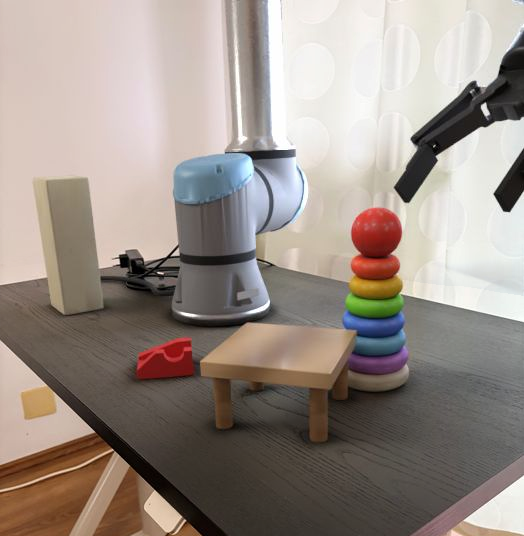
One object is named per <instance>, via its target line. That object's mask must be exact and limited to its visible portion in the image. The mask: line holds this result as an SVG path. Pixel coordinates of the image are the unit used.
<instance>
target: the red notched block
mask: <svg viewBox="0 0 524 536" xmlns="http://www.w3.org/2000/svg"><path fill="white" fill-rule="evenodd" d="M137 356H138V357H137V359H138V362H137V368H136V376H137V380H149V379H160V378H172V377H185V376H194V374H195V372H194V370H195V369H194V359H193V346H192V337H191V336H189V337H178V338H175V339H172V340H170V341H167V342H165V343H162V344H160V345H157V346H154V347H152V348H149V349H147V350H144V351H141V352H139V353H138V355H137Z"/></svg>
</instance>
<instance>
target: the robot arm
mask: <svg viewBox="0 0 524 536" xmlns="http://www.w3.org/2000/svg"><path fill="white" fill-rule="evenodd" d="M510 1H511V2H514V3H517V4H520V5H523V6H524V0H510ZM223 2H224V14H225V15H224V16H225V31H226V32H225V33H226V48H227V64H228V80H229V81H228V82H229V93H230V94H229V96H230V99H229V100H230V112H231V113H230V114H231V127H232V128H231V129H232V130H231V131H232V139H231V141H230V142H229V144H228V145H227V146H226V147H225V149H224V153H216V154H210V155H203V156H197V157H193V158H189V159H186V160H184V161H181V162H179V164H176V167H175V168H174V170H173V175H172V176H173V178H172V179H173V189H172V196H173V197H172V198H173V201H174V211H175V222H176V233H177V242H178V245H177V246H178V253H179V254H178V255H179V271H178V274H177V279H176V284H175V289H173V290H159V289H157V288H156V286H155V285H154V283H152V282H150V281H149V280H148V281H147V280H145V279H141V278H138V277H137V278H136V277H131V278H129V276H122V275H121V276H120V275H100V280H101V282H108V281H109V282H125V283H133V284H138V285H142V286H144V287H147V288H149V289H150V291H151V292H152V293H153V295H156V296H158V297H172V301H171V311H172V312H171V313H172V317H173V318H174V320H175V321H178V322H181V323H184V324H187V325H192V326H200V327H201V326H202V327H203V326H204V327H222V326H223V327H224V326H231V325H232V326H234V325H238V324H241V325H242V324H246V323H251V322H253V321H257V320H259V319H261V318H264V317H265V316H266V315H268V314H269V313H270V311H271V307H270V305H271V303H270V296H269V293H268V290H267V287H266V285H265V283H264V279H263V277H262V274H261V270H260V269H259V266H258V262H257V246H256V245H257V244H256V236H258V235H261V234H266V233H268V232H269V233H270V232H271V233H272V232H276V231H279V230H282V229H284V228H285V227H287V226H288V225H290V224H292V223H294V222H295V221H296V220H297V219H298V218H299V216H300V215H301V214H302V212H303V210H304V209H305V206H306V204H307V200H308V196H309V186H308V180H307V177H306V175H305V172H304V171H303V170H302V169H301V167H300V166H299V165H298V164H297V150H296V149H297V148H296V145H295V144H294V143H293V142H292V141H291V140H290V139H289V137H288V136H287V129H286V127H287V126H286V99H285V71H284V69H285V68H284V42H283V41H284V39H283V13H282V12H283V11H282V9H283V8H282V0H224V1H223ZM483 105H485V106H486V110H487V112H488V113H489V114H488V115H485V113H484V111H483V109H482V106H483ZM523 118H524V25H522V27H521V29H520V30H519V33H518V34H517V36H515V38H514V39H513V41H512V43H511V44H510V45H509V47H508V48H507V49H506V52H505V53H504V54H503V55H502V58H501V59H500V63H499V68H498V72H497V76H496V77H495V78H494V79H493V80H492V81H491V82H490V83H489V84H488V85H479V83H478V81H477V80H475V79H474V80H472V81H470V82H468V84H467V85H466V86H465V88H464V89H463V90H462V91H461V92H460V93H459V95H457V97H455V98H454V99H453V100H452V101H451V102H450V103H448V104H447V105H446V106H445V107H444V108H442V110H440V111H439V112H438V113H437V114H435V116H433V117H432V118H431V119H430V120H429V121H427V122H426V123H425V124H424V125H423V126H421V128H419V129H418V130H417V131H416V132H415V133H414V134H413V135H412V136H411V137H410V140H409V141H411V143H412V145H413V147H414V148H415V149H416V151H415V152H414V154H413V155H412V157H411V159H410V160H409V161H408V162H407V163H406V166H405V170H404V171H403V173H402V174H401V175H400V177H399V179H398V180H397V181H396V183H395V184H394V186H393V189H394V190H395V192H396V193H397V195H398V196H399V198H400V199H401V200H402V202H403V203H404V204H410V203H411V201H412V200H413V198H414V196H415V195H416V194H417V193H418V191H419V189H420V188H421V187H422V185H423V184H424V182H425V181H426V179H427V178H428V177H429V175H430V174H431V172H432V170H433V169H434V167H435V166H436V164H438V161H439V159H438V158H437V156H439V155H440V154H441V153H443V152H444V151H446V150H448V149H450V148H451V147H452V146H454V145H456V144H457V143H458V142H460V141H462V140H463V139H465V138H466V137H468V136H469V135H471V134H472V133H474V132H475V131H477V130H479V129H480V128H489V126H492V124H494V123H496V122H505V121H508V120H509V121H515V122H517V121H521V119H523ZM523 193H524V147H523V148H522V149H521V151H520V152H519V154H518V156H517V157H516V158H515V160H514V162H513V163H512V165H511V166H510V168H509V169H508V171H507V172H506V174H505V175H504V177H503V178H502V180H501V181H500V183H499V184H498V186H497V187H496V189H495V190H494V192H493V194H492V195H493V197H494V198H495V200H496V202H497V203H498V205H499V207H500V208H501V210H502V212H503V213H511V211H513V209H514V208H515V205H516V204H517V203H518V201H519V199H520V198H521V196H522V195H523Z"/></svg>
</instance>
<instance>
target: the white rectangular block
mask: <svg viewBox="0 0 524 536" xmlns="http://www.w3.org/2000/svg"><path fill="white" fill-rule="evenodd" d="M31 180H32V187H33V193H34V200H35V206H36V207H35V208H36V213H37V221H38V225H39V226H38V227H39V232H40V233H39V234H40V238H41V240H40V241H41V247H42V252H43V259H44V265H45V272H46V278H47V285H48V293H49V299H50V303H51V307H53V308H55V309H56V310H57V311H58V312H60V313H61V314H62V315H64V316H70V315H74V314H81V313H85V312H92V311H96V310H102V309H104V299H103V289H102V281H101V280H100V276H101V273H100V265H99V257H98V247H97V240H96V232H95V224H94V223H95V222H94V216H93V214H94V213H93V207H92V200H91V190H90V189H91V188H90V182H89V178H88V177H86V176H79V175H70V174H69V175H55V176H37V177H32V179H31Z"/></svg>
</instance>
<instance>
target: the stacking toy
mask: <svg viewBox="0 0 524 536" xmlns="http://www.w3.org/2000/svg"><path fill="white" fill-rule="evenodd" d="M350 237H351V242H352V244H353V246H354V248H355V249H356V250H357V252H358V253H359V254H357V255H354V257H353V258H352V259H351V261H350V270H351V272H352V273H353V276H351V277H350V279H349V281H348V289H349V290H350V293H349V294H347V296H346V298H345V307H346V311H345V312H344V314H343V316H342V319H341V320H342V321H341V322H342V325H343V329H346V330H357V344H356V346H355V348H354V349H353V351H352V353H351V355H350V356H349V358H348V388H351V389H353V390H357V391H362V392H385V391H386V392H387V391H390V390H394V389H396V388H399V387H400V386H402V385H404V384H405V383H406V382H407V381H408V379H409V376H410V369H409V366H408V365H407V363H408V361H409V351H408V349H407V347H406V346H405V344H406V342H407V340H406V339H407V336H406V333H405V331H404V330H403V329H404V327H405V324H406V323H405V322H406V320H405V315H404V313H403V312H401V311H402V310H403V309H404V304H405V301H404V298H403V296H402V295H401V294H400V293H401V292H402V290H403V288H404V283H403V280H402V278H401V277H400V276H399V275H397V274H398V273H399V271H400V270H401V261H400V259H399V258H398V256H396V255H395V254H392V253H393V252H394V251H396V250H397V249H398V246H399V245H400V244H401V241H402V238H403V226H402V222H401V220H400V218H399V217H398V216H397V214H396V213H395V212H394V211H392V210H391V209H388V208H386V207H381V206H380V207H379V206H376V207H369V208H367V209H365V210H363V211H362V212H360V213H359V214H358V215H357V216H356V217H355V219H354V221H353V223H352V225H351V230H350Z"/></svg>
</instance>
